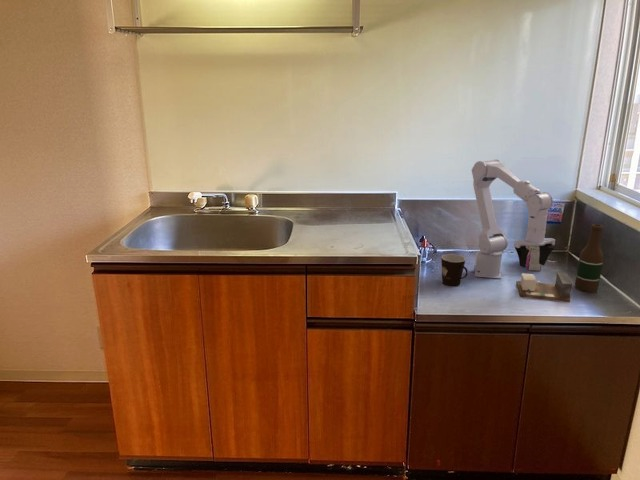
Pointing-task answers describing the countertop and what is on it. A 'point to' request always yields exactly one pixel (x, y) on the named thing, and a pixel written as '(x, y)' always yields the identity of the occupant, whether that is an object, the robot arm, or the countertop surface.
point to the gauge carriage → (529, 282)
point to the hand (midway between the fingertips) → (532, 265)
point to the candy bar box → (533, 258)
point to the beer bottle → (590, 262)
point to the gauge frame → (550, 290)
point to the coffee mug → (452, 269)
